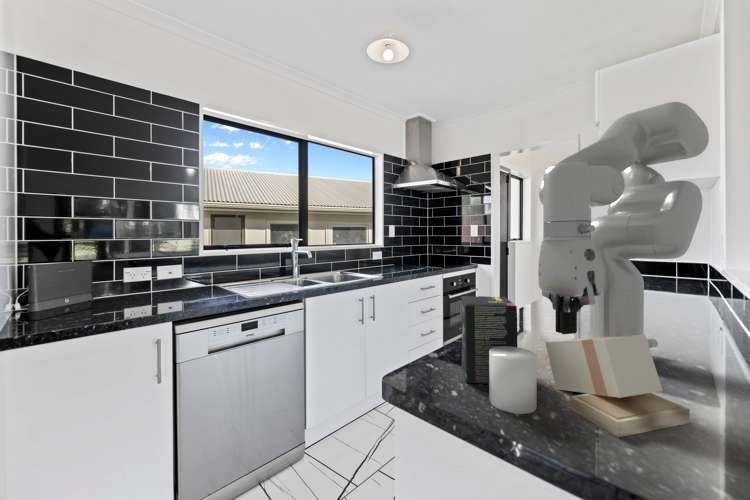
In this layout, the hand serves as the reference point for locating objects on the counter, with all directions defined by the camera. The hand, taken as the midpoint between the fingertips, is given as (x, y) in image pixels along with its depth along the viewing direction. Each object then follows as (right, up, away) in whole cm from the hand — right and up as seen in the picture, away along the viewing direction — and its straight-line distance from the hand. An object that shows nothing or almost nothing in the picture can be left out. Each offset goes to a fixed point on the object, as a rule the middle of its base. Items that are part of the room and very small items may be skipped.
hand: (566, 332), depth 59 cm
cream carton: (0, -5, 0) cm, 5 cm away
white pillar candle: (-13, -10, -7) cm, 18 cm away
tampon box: (-13, -9, +4) cm, 17 cm away
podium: (+2, -9, -12) cm, 15 cm away
